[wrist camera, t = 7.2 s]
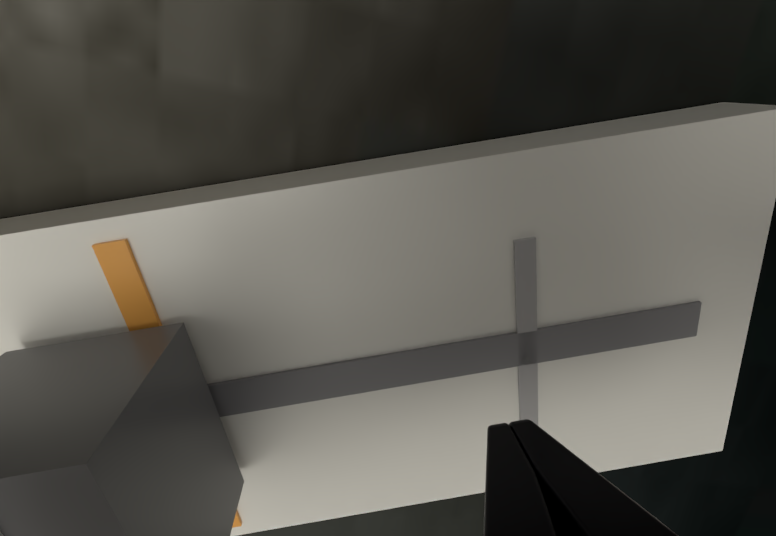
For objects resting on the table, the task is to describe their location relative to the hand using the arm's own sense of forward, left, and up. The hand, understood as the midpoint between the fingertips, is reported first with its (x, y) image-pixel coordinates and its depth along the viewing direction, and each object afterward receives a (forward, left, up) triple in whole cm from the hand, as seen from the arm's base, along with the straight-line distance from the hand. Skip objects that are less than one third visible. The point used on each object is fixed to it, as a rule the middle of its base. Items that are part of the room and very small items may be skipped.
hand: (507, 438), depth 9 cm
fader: (+9, 0, -3) cm, 9 cm away
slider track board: (+3, 0, -5) cm, 5 cm away
